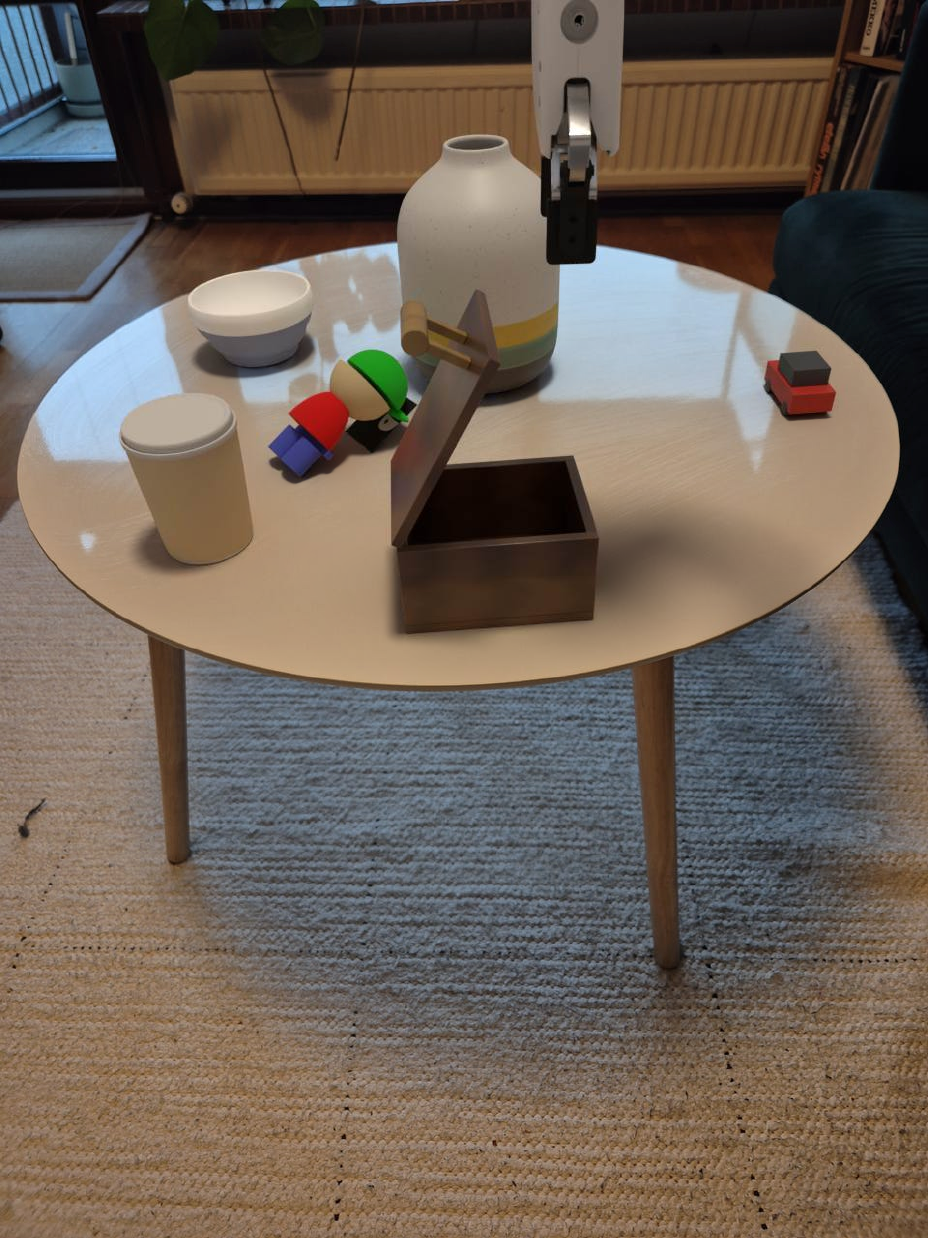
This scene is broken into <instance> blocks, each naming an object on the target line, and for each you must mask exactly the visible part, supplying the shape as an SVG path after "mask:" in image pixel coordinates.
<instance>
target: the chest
mask: <svg viewBox="0 0 928 1238" xmlns="http://www.w3.org/2000/svg"><path fill="white" fill-rule="evenodd" d="M599 544H600V537H599V533H598V530H597V527H596V523H595V520H594V517H593V514H592V510H591V507H590V503H589V500H588V497H587V493H586V491H585V487H584V484H583V480H582V477H581V475H580V471H579V469H578V465H577V462H576V458H575V456H574V455H572V454H570V455H559V456H558V455H557V456H545V457H529V458H515V459H503V460H502V459H501V460H489V461H475V462H462V463H447V465H446V466H445V468H444V470H443V472H442V474H441V476H440V478H439V479H438V481H437V483H436V485H435V487H434V489H433V491H432V492H431V494H430V496H429V498H428V500H427V502H426V504H425V505H424V507H423V509H422V511H421V513H420V515H419V516H418V518H417V520H416V522H415V524H414V526H413V528H412V529H411V531H410V533H409V535H408V537H407V539H406V541H405V542H404V544H403V546H402V548H401V549H400V548H397V547H396V560H397V568H398V576H399V585H400V595H401V602H402V611H403V619H404V628H405V634H415V633H428V632H441V631H455V630H467V629H469V630H470V629H481V628H482V629H483V628H494V627H506V626H507V627H508V626H518V625H519V626H521V625H532V624H533V625H534V624H545V623H557V622H558V623H559V622H570V621H571V622H572V621H582V620H583V621H584V620H585V621H586V620H593V619H594V615H595V602H596V590H597V589H596V586H597V574H598V561H599V546H600V545H599Z"/></svg>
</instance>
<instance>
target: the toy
mask: <svg viewBox="0 0 928 1238" xmlns="http://www.w3.org/2000/svg"><path fill="white" fill-rule="evenodd" d="M408 390H409V384H408V377H407V374H406V371H405V369H404V367H403V365H402V364H401V363H400V362H399V361H398V360H397V359H396V358H395V357H394V356H393V355H391V354H390V353H387V352H386V351H382V350H379V349H364V350H361V351H358V352H355V353H354V354H353V355H351V356H350V357H349V358H348V359H347V360H346V361H345V360H343V359H341V358H340V359H339V360H338V361H337V362H336V364H335V365H334V367H333V369H332V371H331V374H330V377H329V391H321V392H318V393H316V394H312V395H311V396H309V397H307V398H306V399H303V400H302V401H301V402H300V403H298V404H297V405H295V407H294V408H292V409H291V410H290V411H289V412H288V413H287V414H288V415H289V416H290V417H291V419H293V421H294V422H295V423H297V424H298V425H297V426H296V427H293V426H292V425H291V424H290V423H289V424H288V425H287V426H286V427H285V428H284V429H283V430H282V431H281V432H280V433H279V434H278V435H277V436H276V437H275V438H274V439H273V440H272V442H271V443H270V444H269V445H267V448H269V450H270V451H272V452H273V453H274V455H276V456H277V457H278V458H279V459H280V460H281V461H282V462H283V463H284V464H285V465H287V467H288V468H289V469H290V470H292V471H293V472H294V473H295V474H296V475H297V476H298V477H299V478H301V477H302V476H303V475H304V474H305V473H306V472H307V471H308V470H309V469H310V468H311V467H312V466H313V464H315V462H316V461H317V460H318V459H319V458H320V457H321V456H323V457H324V458H325V459H326V460H327V461H330V460H332V458H333V457H334V454H333V453H332V452H331V451H332V450H333V448H335V446H336V445H337V444H338V442H339V441H340V439H341V438H342V436H343V434H344V432H345V433H346V434H347V435H349V437H350V438H352V439H353V440H354V441H356V442H357V443H358V444H359V445H361V446H362V448H364V449H366V450H367V451H368V452H369V453H371V454H373V452H374V451H375V450H376V449H377V448H378V447H379V446H380V445H381V444H383V442H384V441H385V440H386V439H387V437H389V435H391V434H392V433H393V432H394V430H395V429H397V427H398V426H399V425H400V424H401V423H402V422H403V423H410V420H409V418H408V416H409V414H410V413H411V412H413V410H414V409H416V408H417V407H418V404H417V403H415V402H414V401H413V400H411V399H410V398H408V397H407V395H408ZM349 418H350V419H353V420H355V421H354V422H353V423H352V424H351V425H349V427H348V428H347V429H346V427H347V425H348V421H349Z"/></svg>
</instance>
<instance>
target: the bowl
mask: <svg viewBox="0 0 928 1238" xmlns="http://www.w3.org/2000/svg"><path fill="white" fill-rule="evenodd" d="M310 283H311V282H310V281H309V280H308V279H307V278H306V277H304V276H302V275H300V274H298V273H295V272H293V271H287V270H279V269H256V270H245V271H237V272H233V273H229V274H225V275H222V276H221V275H220V276H218V277H215V278H212V279H210V280H207V281H205V282H202V284H199V285H198V286H196V287H195V288H194V289H193V290H192V291H191V292H190V293H189V294H188V297H187V307H188V313H189V316H190V319H191V322H192V324H193V325H194V327H195V328H196V329H197V330H198V332H199V333H200V334H201V336H202V337H203V338H205V339H206V341H208V342H209V345H210V346H211V347H212V348H213V349H215V350H216V351H217V352H218V353H220V354H222V356H223V357H224V358H225V360H226V361H228V362H229V363H230V364H233V365H235V366H239V367H244V368H263V367H270V366H273V365H277V364H280V363H282V362H284V361H287V360H288V359H290V358H291V357H292V356H293V355H295V354H296V353H297V351H298V348H299V343H300V342H301V340H302V339H303V338H304V336H305V334H306V332H307V326H308V324H309V323H310V321H311V318H312V313H313V311H314V305H315V304H314V294H313V290H312V286H311V284H310Z"/></svg>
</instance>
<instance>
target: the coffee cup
mask: <svg viewBox="0 0 928 1238" xmlns="http://www.w3.org/2000/svg"><path fill="white" fill-rule="evenodd" d="M118 440H119V444H120V446H121V448H122V449H123V451H125V454H126V456H127V458H128V461H129V463H130V466H131V469H132V471H133V475H134V476H135V479H136V481H137V483H138V486H139V488H140V490H141V491H140V492H141V493H142V496H143V497H144V500H145V503H146V505H147V507H148V510H149V512H150V514H151V517H152V519H153V522H154V524H155V526H156V529H157V532H158V533H159V535H160V538H161V540H162V542H163V544H164V547H165V548H166V551H167V552H168V554H169V555H170V557H172V558H173V559H175V560H176V561H178V562H181V563H184V564H189V565H209V564H215V563H219V562H222V561H225V560H228V559H230V558H233V557H234V556H236V555H238V554H239V553H240V552H242V551H243V550H244V549H246V547H248V545H249V544H250V543H251V541H252V539H253V536H254V527H253V518H252V513H251V505H250V499H249V492H248V485H247V479H246V473H245V468H244V461H243V457H242V456H243V455H242V450H241V443H240V438H239V432H238V418H237V415H236V413H235V410H233V409H232V408H231V406H230V405H229V403H228V402H226V401H225V400H224V399H223V398H221V397H219V396H216V395H212V394H209V393H201V392H200V393H199V392H184V393H183V392H182V393H176V394H170V395H165V396H162V397H157V398H154V399H153V400H149V401H147V402H144V403H142V404H140V405H138V406H137V407H135V408H134V409H132V410H131V411H130V412H128V413H127V414H126V416H124V418H123V419H122V421H121V423H120V426H119V433H118Z"/></svg>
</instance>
